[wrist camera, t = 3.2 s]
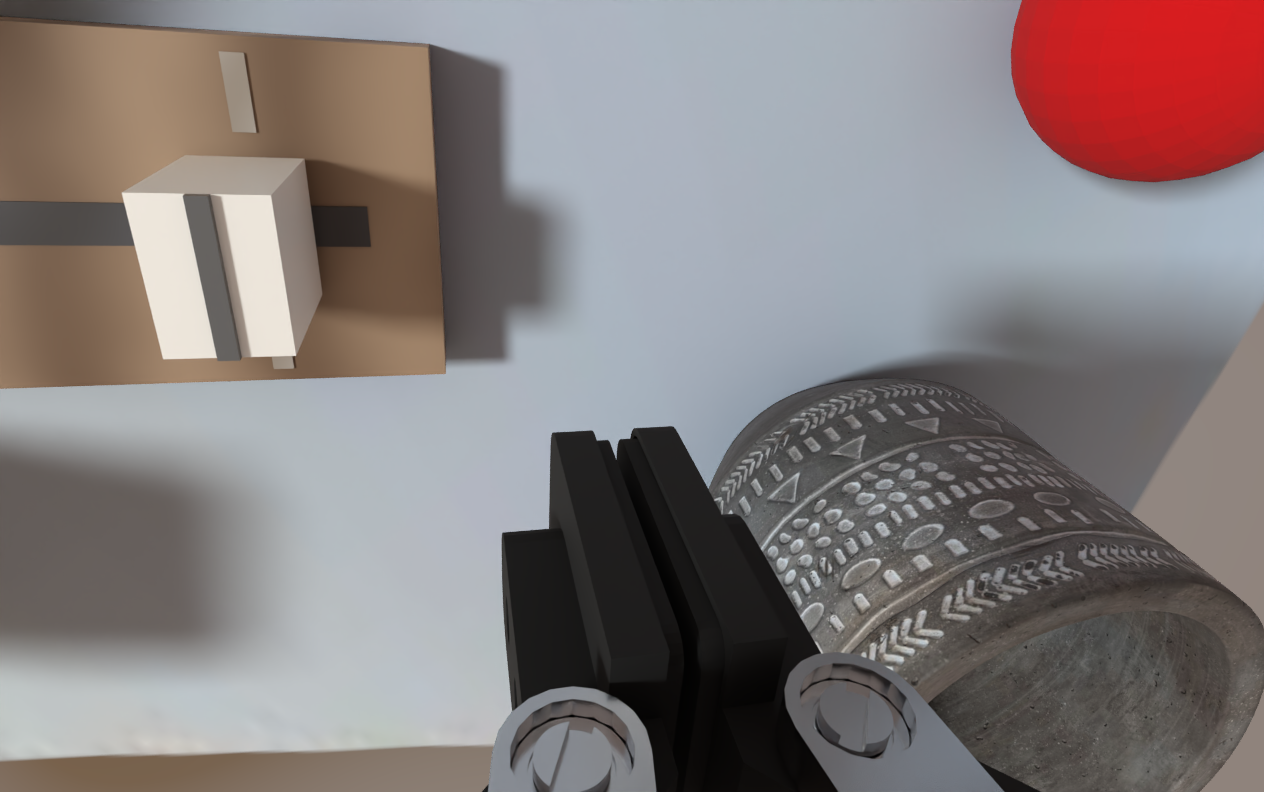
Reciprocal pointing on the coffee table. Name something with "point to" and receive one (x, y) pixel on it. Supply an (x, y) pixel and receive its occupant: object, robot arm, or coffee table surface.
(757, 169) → the coffee table surface
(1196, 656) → the planter
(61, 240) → the fader console
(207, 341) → the fader
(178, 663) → the coffee table surface
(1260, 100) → the ornament
